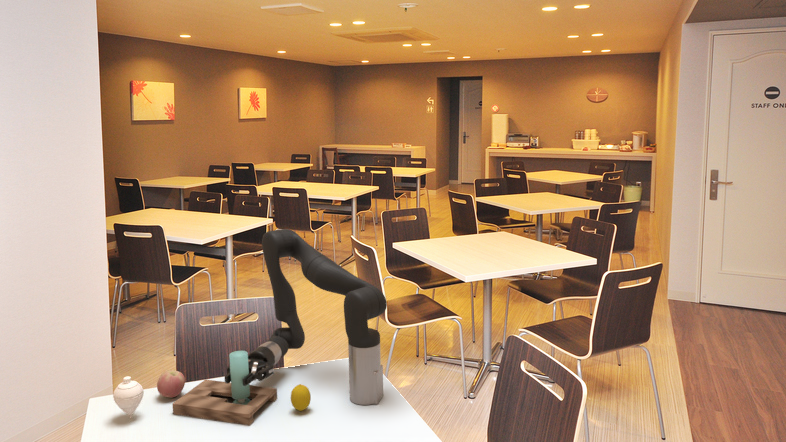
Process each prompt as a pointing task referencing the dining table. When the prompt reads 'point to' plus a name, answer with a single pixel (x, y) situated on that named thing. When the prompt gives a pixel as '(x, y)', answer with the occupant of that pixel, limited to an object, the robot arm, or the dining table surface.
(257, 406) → the keyhole plate
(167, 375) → the apple
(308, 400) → the lemon
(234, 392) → the headed peg
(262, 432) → the dining table surface
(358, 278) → the robot arm
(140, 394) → the spinning top
